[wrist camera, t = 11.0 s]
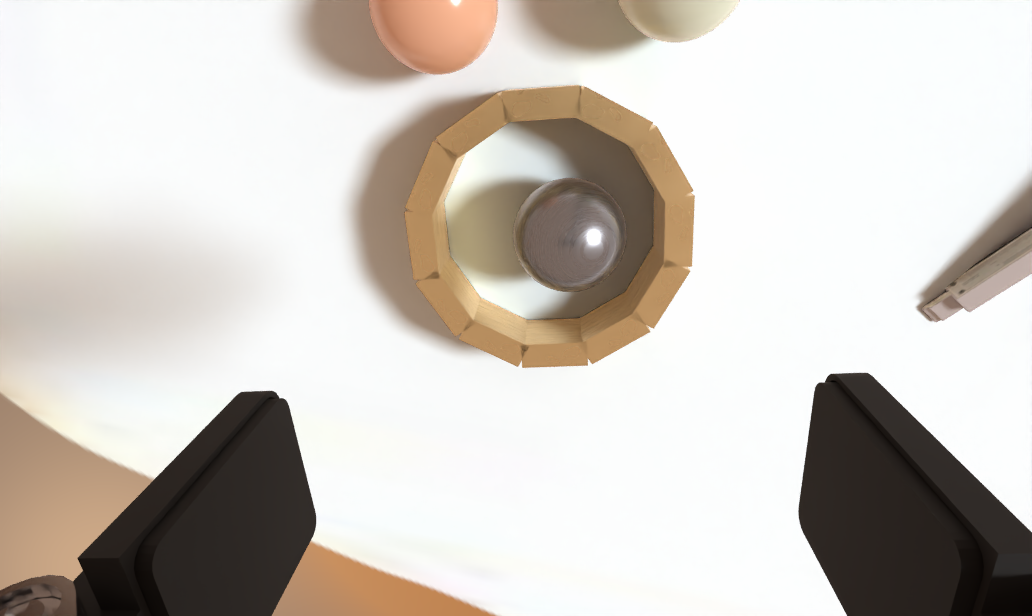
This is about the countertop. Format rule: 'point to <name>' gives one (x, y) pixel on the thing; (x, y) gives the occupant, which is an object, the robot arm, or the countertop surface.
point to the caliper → (985, 279)
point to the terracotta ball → (435, 31)
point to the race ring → (551, 336)
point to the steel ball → (569, 234)
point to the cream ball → (677, 17)
